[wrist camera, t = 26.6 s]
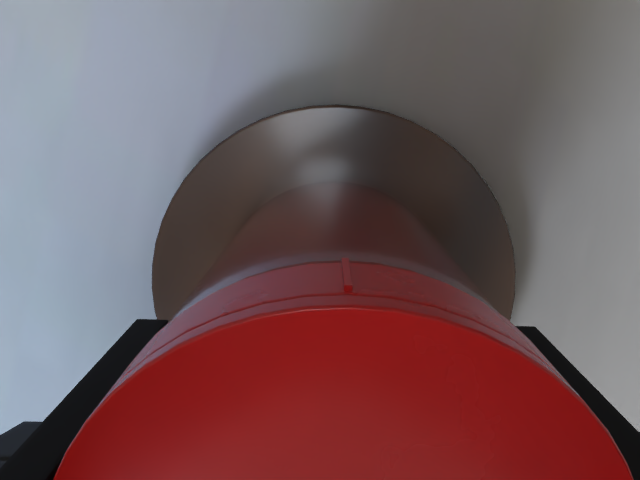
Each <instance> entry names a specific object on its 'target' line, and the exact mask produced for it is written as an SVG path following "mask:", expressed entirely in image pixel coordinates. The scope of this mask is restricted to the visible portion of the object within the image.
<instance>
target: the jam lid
mask: <svg viewBox="0 0 640 480" xmlns="http://www.w3.org/2000/svg"><path fill="white" fill-rule="evenodd" d="M53 480H634V479H633V476H632V474H631V471H630V468H629V466H628V463H627V461H626V460H625V458H624V456H623V455H622V453H621V451H620V449H619V448H618V446H617V444H616V443H615V441H614V439H613V437H612V436H611V434H610V432H609V431H608V429H607V428H606V427H605V426H604V424H603V423H602V422H601V421H600V420H599V418H598V417H597V416H596V415H595V413H594V412H593V411H592V410H591V409H590V407H589V406H588V405H587V404H586V402H585V401H584V400H583V399H582V398H581V397H580V396H579V394H578V393H577V392H576V391H575V390H574V389H573V388H572V387H571V386H570V384H569V383H568V382H567V381H566V380H565V379H564V378H563V376H562V375H561V374H560V373H559V372H558V371H557V370H556V369H555V368H554V366H553V365H552V364H551V363H550V362H549V361H548V360H547V359H546V357H545V356H544V355H543V354H542V353H541V352H540V351H539V350H538V348H537V347H536V346H535V345H534V344H533V343H532V342H531V341H530V340H529V339H528V338H527V337H526V336H525V335H524V334H523V333H522V332H521V331H520V330H518V329H517V328H516V327H515V326H514V325H513V324H512V323H511V322H510V321H509V320H508V319H506V318H505V317H504V316H502V315H501V314H499V313H498V312H496V311H495V310H493V309H492V308H491V307H489V306H488V305H486V304H485V303H483V302H482V301H480V300H479V299H477V298H475V297H473V296H471V295H469V294H467V293H465V292H463V291H461V290H459V289H457V288H455V287H453V286H451V285H449V284H447V283H444V282H441V281H438V280H436V279H433V278H430V277H427V276H424V275H421V274H418V273H416V272H411V271H406V270H402V269H397V268H392V267H387V266H383V265H373V264H361V263H349V258H342V259H341V262H338V263H316V264H305V265H299V266H294V267H288V268H282V269H276V270H272V271H269V272H266V273H262V274H259V275H256V276H253V277H250V278H246V279H243V280H240V281H238V282H236V283H234V284H231V285H229V286H227V287H225V288H223V289H220V290H218V291H216V292H214V293H212V294H210V295H208V296H206V297H205V298H203V299H202V300H200V301H199V302H197V303H195V304H194V305H192V306H191V307H189V308H187V309H186V310H184V311H183V312H181V313H180V314H179V315H178V316H176V317H175V318H174V319H173V320H172V321H171V322H169V323H168V324H167V325H166V326H165V327H163V328H162V329H161V330H160V331H159V332H157V333H156V334H155V336H154V337H153V338H152V339H151V340H150V341H149V342H148V343H147V345H146V346H145V347H144V348H143V349H142V350H141V351H140V352H139V354H138V355H137V356H136V357H135V358H134V359H133V361H132V362H131V363H130V365H129V366H128V367H127V368H126V370H125V371H124V372H123V374H122V375H121V376H120V377H119V379H118V380H117V381H116V383H115V384H114V385H113V386H112V388H111V389H110V390H109V391H108V393H107V394H106V395H105V397H104V398H103V399H102V400H101V402H100V403H99V405H98V406H97V407H96V408H95V409H94V411H93V412H92V413H91V415H90V416H89V417H88V418H87V420H86V421H85V423H84V424H83V426H82V427H81V429H80V430H79V432H78V433H77V435H76V436H75V438H74V439H73V441H72V442H71V444H70V445H69V447H68V449H67V450H66V452H65V454H64V456H63V459H62V461H61V463H60V465H59V467H58V470H57V472H56V474H55V476H54V478H53Z"/></svg>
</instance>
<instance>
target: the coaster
mask: <svg viewBox="0 0 640 480" xmlns="http://www.w3.org/2000/svg"><path fill="white" fill-rule="evenodd" d="M329 181H339V182H351V183H355V184H360V185H364V186H368V187H370V188H373V189H376V190H379V191H381V192H383V193H385V194H387V195H389V196H391V197H393V198H394V199H396V200H397V201H399V202H400V203H402V204H403V205H404V206H406V207H407V208H408V209H409V210H410V211H411V212H412V213H413V214H414V215H416V216H417V217H418V219H419V220H420V221H421V222H422V223H423V224H424V226H425V227H426V228H427V229H428V230H429V231H430V233H431V234H432V235H433V236H434V237H435V238H436V240H437V241H438V242H439V243H440V244H441V245H442V247H443V248H444V249H445V250H446V251H447V252H448V254H449V255H450V256H451V257H452V258H453V259H454V261H455V262H456V263H457V264H458V265H459V266H460V268H461V269H462V270H463V271H464V272H465V273H466V275H467V276H468V277H469V278H470V279H471V280H472V282H473V283H474V284H475V285H476V286H477V287H478V289H479V290H480V291H481V292H482V293H483V294H484V296H485V297H486V298H487V299H488V300H489V301H490V303H491V304H492V305H493V306H494V307H495V308H496V310H497V311H498V312H499V313H500V314H501V315H502V316H504V317H505V318H506V319H508V320H509V321H510V319H511V314H512V308H513V302H514V296H515V273H516V272H515V262H514V253H513V247H512V243H511V239H510V235H509V231H508V227H507V224H506V222H505V219H504V217H503V214H502V212H501V209H500V207H499V204H498V203H497V201H496V199H495V197H494V196H493V194H492V192H491V191H490V189H489V187H488V185H487V184H486V182H485V181H484V180H483V179H482V177H481V176H480V175H479V174H478V172H477V171H476V170H475V168H474V167H473V166H472V165H471V164H470V163H469V162H468V161H467V160H466V159H465V158H464V157H463V156H462V155H461V154H460V153H459V152H458V151H457V150H456V149H455V148H454V147H452V146H451V145H450V144H448V143H447V142H445V141H444V140H443V139H441V138H440V137H439V136H437V135H436V134H434V133H433V132H431V131H429V130H427V129H425V128H423V127H422V126H420V125H418V124H416V123H414V122H412V121H410V120H407V119H404V118H402V117H399V116H396V115H394V114H391V113H388V112H384V111H380V110H375V109H371V108H366V107H360V106H348V105H319V106H308V107H303V108H298V109H292V110H287V111H284V112H281V113H278V114H275V115H272V116H269V117H266V118H263V119H260V120H258V121H256V122H254V123H252V124H250V125H248V126H246V127H244V128H242V129H240V130H238V131H237V132H235V133H234V134H232V135H231V136H229V137H228V138H226V139H225V140H224V141H222V142H221V143H219V144H218V145H217V146H216V147H214V148H213V149H212V150H211V151H210V152H209V153H208V154H207V155H206V156H204V157H203V158H202V159H201V160H200V161H199V162H198V163H197V165H196V166H195V167H194V168H193V169H192V171H191V172H190V173H189V174H188V175H187V177H186V178H185V179H184V180H183V182H182V184H181V185H180V187H179V188H178V190H177V192H176V193H175V195H174V196H173V198H172V200H171V202H170V204H169V206H168V208H167V211H166V213H165V215H164V217H163V220H162V222H161V226H160V229H159V233H158V236H157V240H156V243H155V250H154V257H153V263H152V292H153V300H154V308H155V313H156V317H157V320H168V323H169V321H170V320H171V319H172V317H173V316H174V315H175V313H176V312H177V311H178V309H179V308H180V307H181V305H182V304H183V303H184V301H185V300H186V299H187V297H188V296H189V295H190V294H191V292H192V291H193V290H194V288H195V287H196V286H197V284H198V283H199V282H200V280H201V279H202V278H203V276H204V275H205V274H206V272H207V271H208V270H209V268H210V267H211V266H212V264H213V263H214V262H215V260H216V259H217V258H218V256H219V255H220V254H221V252H222V251H223V250H224V248H225V247H226V246H227V244H228V243H229V242H230V240H231V239H232V238H233V236H234V235H235V234H236V233H237V231H238V230H239V229H240V227H241V226H242V225H243V223H244V222H245V221H246V220H247V219H248V218H249V217H250V216H251V214H252V213H254V212H255V211H256V210H257V209H258V208H259V207H261V206H262V205H263V204H264V203H266V202H267V201H269V200H271V199H272V198H274V197H275V196H277V195H279V194H281V193H283V192H285V191H288V190H290V189H293V188H296V187H299V186H302V185H306V184H311V183H317V182H329Z"/></svg>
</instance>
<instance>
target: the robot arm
mask: <svg viewBox="0 0 640 480" xmlns="http://www.w3.org/2000/svg"><path fill="white" fill-rule="evenodd" d="M167 324H168V320H149V319H137V320H136V321H135V322H134V323H133V324H132V325H131V327H130V328H129V329H128V330H127V331H126V332H125V333H124V334H123V335H122V336H121V337H120V338H119V340H118V341H117V342H116V343H115V344H114V345H113V346H112V347H111V348H110V349H109V350H108V352H107V353H106V354H105V355H104V356H103V357H102V358H101V359H100V360H99V361H98V362H97V363H96V365H95V366H94V367H93V368H92V369H91V370H90V371H89V372H88V373H87V374H86V375H85V377H84V378H83V379H82V380H81V381H80V382H79V383H78V384H77V385H76V386H75V387H74V388H73V390H72V391H71V392H70V393H69V394H68V395H67V396H66V397H65V398H64V399H63V400H62V402H61V403H60V404H59V405H58V406H57V407H56V408H55V409H54V410H53V411H52V412H51V413H50V415H49V416H48V417H47V418H46V419H45V420H44V421H43V422H22V423H21V424H19V425H17V426H16V427H14V428H12V429H10V430H9V431H7V432H5V433H3V434H2V435H0V480H53V478H54V476H55V474H56V472H57V470H58V467H59V465H60V463H61V461H62V459H63V456H64V454H65V452H66V450H67V449H68V447H69V445H70V444H71V442H72V441H73V439H74V438H75V436H76V435H77V433H78V432H79V430H80V429H81V427H82V426H83V424H84V423H85V421H86V420H87V418H88V417H89V416H90V415H91V413H92V412H93V411H94V409H95V408H96V407H97V406H98V405H99V403H100V402H101V400H102V399H103V398H104V397H105V395H106V394H107V393H108V391H109V390H110V389H111V388H112V386H113V385H114V384H115V383H116V381H117V380H118V379H119V377H120V376H121V375H122V374H123V372H124V371H125V370H126V368H127V367H128V366H129V365H130V363H131V362H132V361H133V359H134V358H135V357H136V356H137V355H138V354H139V352H140V351H141V350H142V349H143V348H144V347H145V346H146V345H147V343H148V342H149V341H150V340H151V339H152V338H153V337H154V336H155V334H156V333H157V332H159V331H160V330H161V329H162V328H163V327H165V326H166V325H167ZM515 327H516V328H517V329H518V330H520V331H521V332H522V333H523V334H524V335H525V336H526V337H527V338H528V339H529V340H530V341H531V342H532V343H533V344H534V345H535V346H536V347H537V348H538V350H539V351H540V352H541V353H542V354H543V355H544V356H545V357H546V359H547V360H548V361H549V362H550V363H551V364H552V365H553V366H554V368H555V369H556V370H557V371H558V372H559V373H560V374H561V375H562V376H563V378H564V379H565V380H566V381H567V382H568V383H569V384H570V386H571V387H572V388H573V389H574V390H575V391H576V392H577V393H578V394H579V396H580V397H581V398H582V399H583V400H584V401H585V402H586V404H587V405H588V406H589V407H590V409H591V410H592V411H593V412H594V413H595V415H596V416H597V417H598V418H599V420H600V421H601V422H602V423H603V424H604V426H605V427H606V428H607V429H608V431H609V432H610V434H611V436H612V437H613V439H614V441H615V443H616V444H617V446H618V448H619V449H620V451H621V453H622V455H623V456H624V458H625V460H626V461H627V463H628V466H629V468H630V471H631V474H632V476H633V479H634V480H640V432H638V431H637V430H636V429H635V428H634V427H633V426H632V425H631V424H630V423H629V422H628V421H627V420H626V419H625V418H624V417H623V416H622V415H621V414H620V413H619V412H618V411H617V410H616V409H615V408H614V407H613V406H612V405H611V404H610V403H609V402H608V401H607V400H606V399H605V398H604V397H603V395H602V394H601V393H600V392H599V391H598V390H597V389H596V388H595V387H594V386H593V385H592V384H591V383H590V382H589V381H588V380H587V379H586V378H585V377H584V376H583V375H582V374H581V373H580V372H579V371H578V370H577V369H576V368H575V367H574V366H573V365H572V364H571V363H570V362H569V361H568V360H567V359H566V358H565V357H564V356H563V355H562V354H561V353H560V352H559V351H558V350H557V349H556V348H555V347H554V346H553V345H552V343H551V342H550V341H549V340H548V339H547V338H546V337H545V336H544V335H543V334H542V333H541V332H540V331H539V330H538V329H537V328H536V327H529V326H515Z"/></svg>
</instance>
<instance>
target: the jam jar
mask: <svg viewBox="0 0 640 480" xmlns="http://www.w3.org/2000/svg"><path fill="white" fill-rule="evenodd" d="M342 258H349V263H361V264H373V265H383V266H387V267H392V268H397V269H402V270H406V271H411V272H416V273H418V274H421V275H424V276H427V277H430V278H433V279H436V280H438V281H441V282H444V283H447V284H449V285H451V286H453V287H455V288H457V289H459V290H461V291H463V292H465V293H467V294H469V295H471V296H473V297H475V298H477V299H479V300H480V301H482V302H483V303H485V304H486V305H488V306H489V307H491V308H492V309H493V310H495V311H496V312H498V311H497V310H496V308H495V307H494V306H493V305H492V304H491V303H490V301H489V300H488V299H487V298H486V297H485V296H484V294H483V293H482V292H481V291H480V290H479V289H478V287H477V286H476V285H475V284H474V283H473V282H472V280H471V279H470V278H469V277H468V276H467V275H466V273H465V272H464V271H463V270H462V269H461V268H460V266H459V265H458V264H457V263H456V262H455V261H454V259H453V258H452V257H451V256H450V255H449V254H448V252H447V251H446V250H445V249H444V248H443V247H442V245H441V244H440V243H439V242H438V241H437V240H436V238H435V237H434V236H433V235H432V234H431V233H430V231H429V230H428V229H427V228H426V227H425V226H424V224H423V223H422V222H421V221H420V220H419V219H418V217H417V216H416V215H414V214H413V213H412V212H411V211H410V210H409V209H408V208H407V207H406V206H404V205H403V204H402V203H400V202H399V201H397V200H396V199H394V198H393V197H391V196H389V195H387V194H385V193H383V192H381V191H379V190H376V189H373V188H370V187H368V186H364V185H360V184H355V183H351V182H339V181H329V182H317V183H311V184H306V185H302V186H299V187H296V188H293V189H290V190H288V191H285V192H283V193H281V194H279V195H277V196H275V197H274V198H272V199H271V200H269V201H267V202H266V203H264V204H263V205H262V206H261V207H259V208H258V209H257V210H256V211H255V212H254V213H252V214H251V216H250V217H249V218H248V219H247V220H246V221H245V222H244V223H243V225H242V226H241V227H240V229H239V230H238V231H237V233H236V234H235V235H234V236H233V238H232V239H231V240H230V242H229V243H228V244H227V246H226V247H225V248H224V250H223V251H222V252H221V254H220V255H219V256H218V258H217V259H216V260H215V262H214V263H213V264H212V266H211V267H210V268H209V270H208V271H207V272H206V274H205V275H204V276H203V278H202V279H201V280H200V282H199V283H198V284H197V286H196V287H195V288H194V290H193V291H192V292H191V294H190V295H189V296H188V297H187V299H186V300H185V301H184V303H183V304H182V305H181V307H180V308H179V309H178V311H177V312H176V313H175V315H174V316H173V317H172V319H171V320H170V321H169V322H171V321H172V320H173V319H174V318H175V317H176V316H178V315H179V314H180V313H181V312H183V311H184V310H186V309H187V308H189V307H191V306H192V305H194V304H195V303H197V302H199V301H200V300H202V299H203V298H205V297H206V296H208V295H210V294H212V293H214V292H216V291H218V290H220V289H223V288H225V287H227V286H229V285H231V284H234V283H236V282H238V281H240V280H243V279H246V278H250V277H253V276H256V275H259V274H262V273H266V272H269V271H272V270H276V269H282V268H288V267H294V266H299V265H305V264H316V263H338V262H341V259H342ZM498 313H499V312H498ZM499 314H500V313H499Z"/></svg>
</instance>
